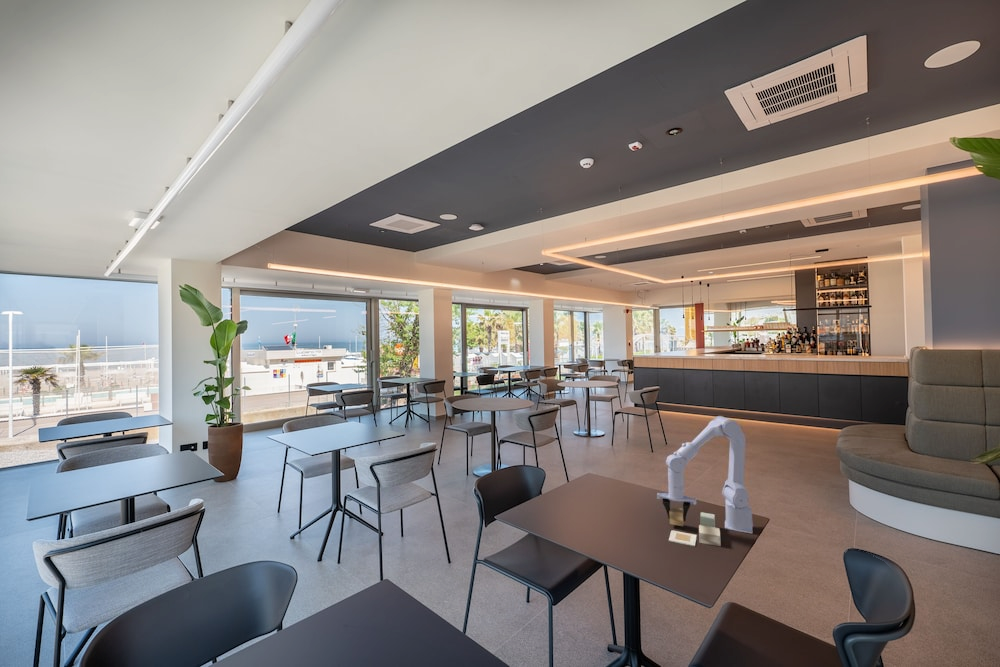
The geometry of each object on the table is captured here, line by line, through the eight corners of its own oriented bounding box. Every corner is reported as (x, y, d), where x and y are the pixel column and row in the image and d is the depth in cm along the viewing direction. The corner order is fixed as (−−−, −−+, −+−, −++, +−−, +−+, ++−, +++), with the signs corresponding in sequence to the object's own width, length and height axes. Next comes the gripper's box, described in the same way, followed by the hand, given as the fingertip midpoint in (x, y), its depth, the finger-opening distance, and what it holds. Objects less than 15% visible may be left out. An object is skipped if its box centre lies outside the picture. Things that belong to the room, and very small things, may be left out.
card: (696, 536, 158) (696, 534, 158) (695, 546, 150) (695, 545, 150) (671, 531, 162) (671, 529, 162) (668, 541, 154) (668, 539, 154)
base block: (719, 538, 156) (719, 528, 156) (720, 547, 150) (720, 536, 150) (699, 535, 159) (698, 524, 159) (699, 543, 153) (699, 532, 153)
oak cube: (684, 521, 167) (683, 509, 168) (683, 526, 163) (682, 513, 163) (671, 519, 170) (670, 507, 170) (669, 523, 165) (669, 511, 166)
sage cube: (714, 526, 166) (714, 514, 166) (714, 532, 161) (714, 519, 161) (701, 524, 168) (700, 512, 168) (700, 529, 164) (700, 516, 164)
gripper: (696, 484, 167) (697, 518, 166) (658, 479, 174) (659, 512, 174) (695, 490, 161) (696, 525, 160) (655, 485, 168) (656, 518, 167)
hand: (677, 519), depth 166 cm, fingers closed on oak cube, 5 cm apart
